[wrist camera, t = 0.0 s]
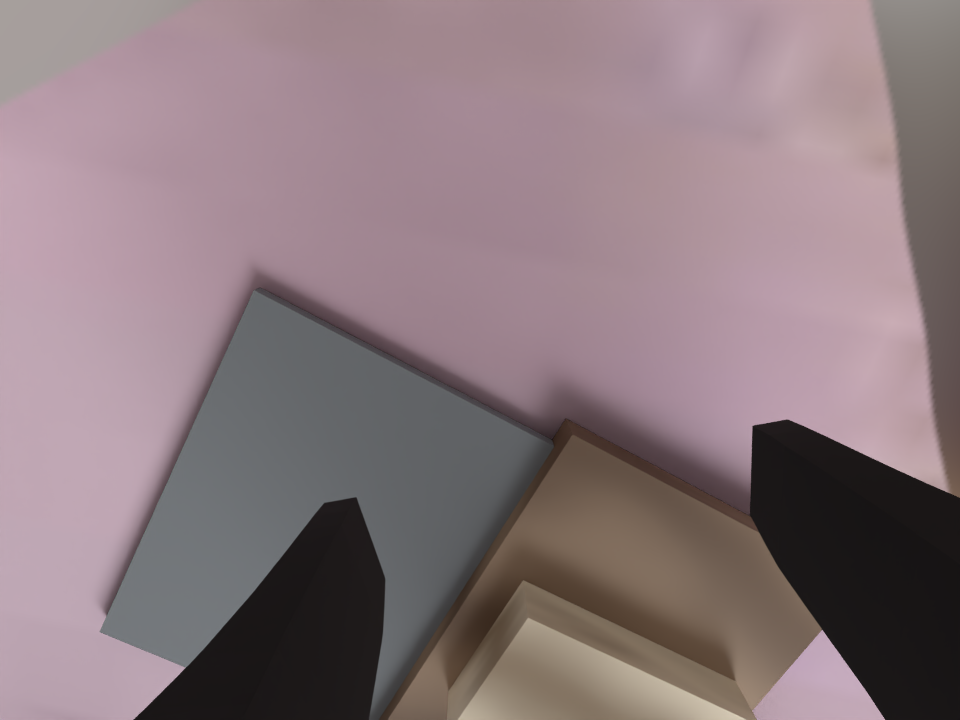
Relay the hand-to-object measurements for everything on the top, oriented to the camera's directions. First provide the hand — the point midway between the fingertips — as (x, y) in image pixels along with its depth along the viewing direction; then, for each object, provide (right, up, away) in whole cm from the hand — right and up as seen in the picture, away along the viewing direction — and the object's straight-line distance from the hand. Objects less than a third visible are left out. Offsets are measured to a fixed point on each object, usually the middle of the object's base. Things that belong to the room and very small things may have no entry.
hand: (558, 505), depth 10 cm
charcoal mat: (-8, -4, +12) cm, 15 cm away
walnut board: (+3, -10, +14) cm, 17 cm away
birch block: (+3, -11, +12) cm, 17 cm away
